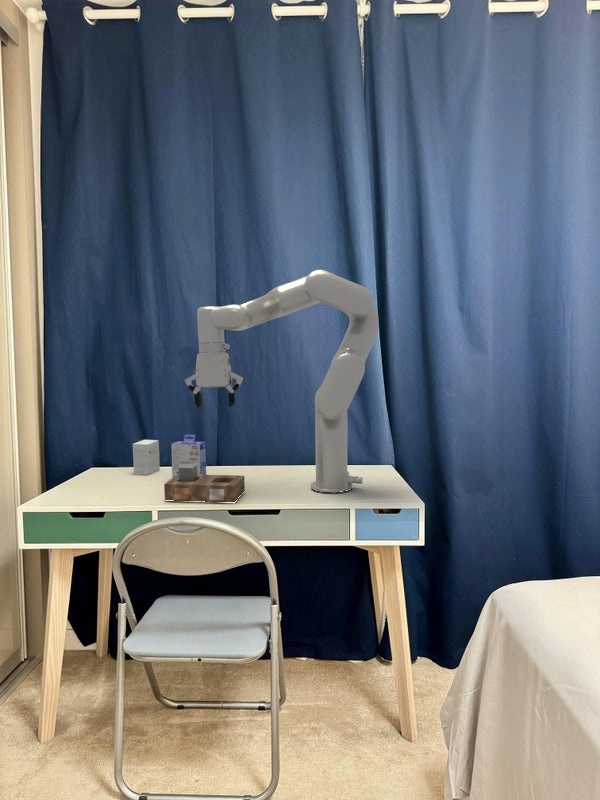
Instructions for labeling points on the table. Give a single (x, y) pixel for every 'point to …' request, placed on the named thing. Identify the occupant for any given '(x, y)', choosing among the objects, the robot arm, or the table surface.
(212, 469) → the table surface
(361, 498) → the table surface
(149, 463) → the small box
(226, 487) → the socket block
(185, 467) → the plug
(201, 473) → the ink cartridge box
